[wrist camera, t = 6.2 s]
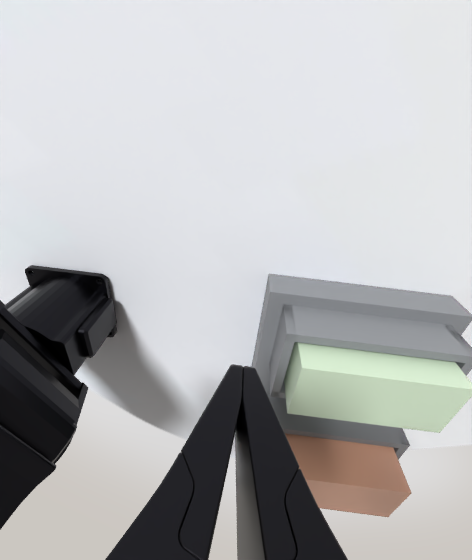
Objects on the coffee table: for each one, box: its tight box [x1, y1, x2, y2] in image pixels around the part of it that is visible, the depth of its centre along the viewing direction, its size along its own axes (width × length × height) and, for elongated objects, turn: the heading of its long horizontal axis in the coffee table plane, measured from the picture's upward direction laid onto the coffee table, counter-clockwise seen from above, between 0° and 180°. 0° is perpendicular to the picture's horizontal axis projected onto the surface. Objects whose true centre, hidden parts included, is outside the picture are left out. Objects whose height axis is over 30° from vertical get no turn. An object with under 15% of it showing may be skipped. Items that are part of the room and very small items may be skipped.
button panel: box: [252, 274, 472, 459], centre depth 23 cm, size 14×18×6 cm
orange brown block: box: [285, 433, 411, 517], centre depth 23 cm, size 10×4×4 cm, turn 84°
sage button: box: [284, 342, 472, 433], centre depth 18 cm, size 10×4×4 cm, turn 84°
